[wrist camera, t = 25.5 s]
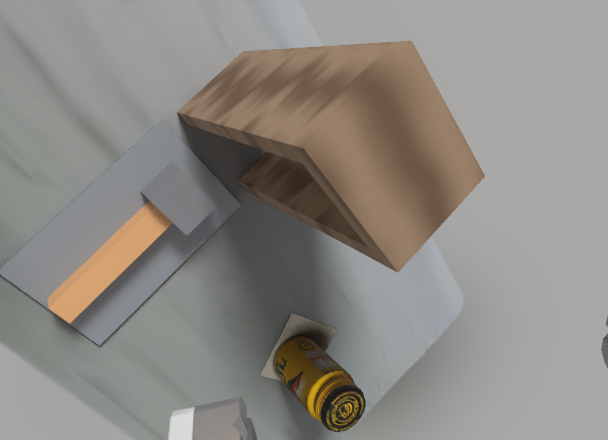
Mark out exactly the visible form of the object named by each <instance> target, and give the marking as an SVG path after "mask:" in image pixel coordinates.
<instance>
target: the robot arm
mask: <svg viewBox="0 0 608 440" xmlns="http://www.w3.org/2000/svg"><path fill="white" fill-rule="evenodd" d="M606 325H607V326H608V317H607V322H606ZM602 354H603V358H604V362H605V364H606V365H607V367H608V334H607V335H606V336H605V337H604V339H603V343H602ZM168 440H257V436H256V432H255V428H254V425H253V422H252V420H251V419H250V418H248V417H247V409H246V404H245V402H244V400H243V398H242V397H239V398H234V399H229V400H224V401H219V402H214V403H209V404H204V405H199V406H194V407H190V408H185V409H181V410H176V411H173V412H172V415H171V417H170V422H169V432H168Z"/></svg>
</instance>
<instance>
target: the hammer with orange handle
mask: <svg viewBox="0 0 608 440" xmlns="http://www.w3.org/2000/svg"><path fill="white" fill-rule="evenodd" d="M141 192H142V193H143V194H144V195H145V196H146V197H147V198H148V199H149V200H150V201H148V202H147V203H146V204H145V205H144V206H143V207H142V208H141V209H140V210H139V211H138V212H137V213H136V214H135V215H134V216H133V217H132V218H131V219H130V220H129V221H128V222H127V223H126V224H124V225H123V226H122V227H121V228H120V229H119V230H118V231H117V232H116V233H115V234H114V235H113V236H112V237H111V238H110V239H109V240H108V241H107V242H106V243H105V244H104V245H103V246H102V247H100V248H99V249H98V250H97V251H96V252H95V253H94V254H93V255H92V256H91V257H90V258H89V259H88V260H87V261H86V262H85V263H84V264H83V265H82V266H81V267H80V268H79V269H78V270H76V271H75V272H74V273H73V274H72V275H71V276H70V277H69V278H68V279H67V280H66V281H65V282H64V283H63V284H62V285H61V286H60V287H59V288H58V289H57V290H56V291H55V292H53V293H52V294H51V295H50V296H49V297H48V298H47V300H48V307H49V309H50V310H51V311H53V312H54V313H56V314H57V315H58V316H60V317H61V318H63V319H64V320H65V321H67V322H68V323H71V322H72V321H73V320H74V319H75V318H76V317H77V316H78V315H79V314H80V313H81V312H82V311H83V310H84V309H85V308H86V307H87V306H88V305H89V304H90V303H91V302H92V301H93V300H95V299H96V298H97V297H98V296H99V295H100V294H101V293H102V292H103V291H104V290H105V289H106V288H107V287H108V286H109V285H110V284H111V283H112V282H113V281H114V280H115V279H116V278H117V277H118V276H119V275H120V274H121V273H122V272H123V271H124V270H125V269H126V268H127V267H128V266H129V265H130V264H131V263H132V262H133V261H134V260H135V259H136V258H137V257H138V256H140V255H141V254H142V253H143V252H144V251H145V250H146V249H147V248H148V247H149V246H150V245H151V244H152V243H153V242H154V241H155V240H156V239H157V238H158V237H159V236H160V235H161V234H162V233H163V232H164V231H165V230H166V229H167V228H168V227H169V226H170V225H171V224H172V223H174V224H175V225H176V226H177V227H178V228H179V229H180V230H181V231H182V232H183V233H184V234H185V235H186V236H187V235H188V234H189V233H190V232H191V231H192V230H193V229H194V228H195V227H196V226H197V225H199V224H200V223H201V222H202V221H203V220H204V219H205V218H206V217H207V216H208V215H209V214H210V213H211V212H212V211H213V210H214V209H215V208H216V207H217V206H216V205H215V204H214V202H213V201H212V200H211V199H210V198H209V197H208V196H207V195H206V194H205V193H204V192H203V191H202V190H201V189H200V188H199V187H198V186H197V185H196V184H195V183H194V182H193V180H192V179H191V178H190V177H189V176H188V175H187V174H186V173H185V172H184V171H183V170H182V169H181V168H179V167H177V166H176V165H174V164H173V163H171V162H170V163H169V164H168V165H167V166H166V167H165V168H164V169H163V170H162V171H161V172H160V173H159V174H158V175H157V176H156V177H155V178H153V179H152V180H151V181H150V182H149V183H148V184H147V185H146V186H145V187H144V188H143V189H142V190H141Z"/></svg>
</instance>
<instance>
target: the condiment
mask: <svg viewBox="0 0 608 440" xmlns="http://www.w3.org/2000/svg"><path fill="white" fill-rule="evenodd" d="M336 330H337V329H335V328H332V327H329V326H327V325H324V324H321V323H319V322H316V321H313V320H310V319H307V318H304V317H302V316H299V315H296V314H293V313H291V315H290V317H289V320H288V321H287V323H286V325H285V328H284V330H283V331H282V333H281V336H280V337H279V339H278V341H277V343H276V345H275V346H274V348H273V351H272V353H271V355H270V356H269V359H268V360H267V362H266V365H265V367H264V369H263V371H262V373H261V376H262V377H266V378H270V379H274V380H278V381H282V382H283V383H284V384H285V385H286V387H287V388H288V389H289V390H290V391H291V392H292V393H293V394H294V395H295V397H296V398H297V399H298V400H299V401H300V403H301V404H302V405H303V406H304V408H305V409H306V410H307V411H308V412H309V413H310V415H311V416H312V417H314V418H316V419H318V420H320V421H321V422H322V423H323V424H324V426H325V427H327V429H329V430H331V431H335V432H340V431H345V430H347V429H349V428H350V427H352V426H353V425H355V424H356V423H357V421H358V420H359V419H360V418H361V416H362V414H363V412H364V409H365V398H364V395H363V392H362V391H361V389H359V388H358V387H357V386H356V384H355V383H354V381H353V379H352V377H351V376H350V375H349V373H347V372H346V371H345V370H344V369H343V368H342V367H341V366H340V365H339V364H338V363H337V362H335V361H334V360H333V359H332V358H331V357H330V356H329V355H328V354H327V353H326V352H325V351H326V349H327V347H328V345H329V343H330V341H331V339H332V338H333V336H334V334H335V332H336ZM297 331H299V332H298V333H296V332H297ZM295 333H296V334H295ZM294 334H295V335H294Z"/></svg>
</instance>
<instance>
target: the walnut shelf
mask: <svg viewBox="0 0 608 440" xmlns="http://www.w3.org/2000/svg"><path fill="white" fill-rule="evenodd" d="M177 113H178V114H179V115H180V116H181V117H182V118H183V120H184V121H185V122H186V123H187V124H188V125H190V126H193V127H196V128H199V129H202V130H205V131H208V132H210V133H213V134H216V135H219V136H222V137H225V138H228V139H231V140H234V141H237V142H240V143H243V144H246V145H249V146H252V147H255V148H258V149H261V150H264V151H267V152H266V153H265V154H264V155H263V156H262V157H261V158H260V159H259V160H258V161H257V162H256V163H255V164H254V165H253V166H252V167H251V168H250V169H249V170H248V171H247V172H246V173H245V174H244V175H243V176H242V177H241V178H240V179H239V180H238V182H239V183H240V184H241V185H242V186H243V187H244V188H245V190H246V191H248V192H249V193H251V194H253V195H255V196H257V197H259V198H261V199H262V200H264V201H266V202H268V203H270V204H272V205H274V206H275V207H277V208H279V209H281V210H283V211H285V212H287V213H288V214H290V215H292V216H294V217H296V218H298V219H300V220H301V221H303V222H305V223H307V224H309V225H311V226H313V227H314V228H316V229H318V230H320V231H322V232H324V233H326V234H327V235H329V236H331V237H333V238H335V239H337V240H339V241H340V242H342V243H344V244H346V245H348V246H350V247H352V248H353V249H355V250H357V251H359V252H361V253H363V254H365V255H366V256H368V257H370V258H372V259H374V260H376V261H378V262H379V263H381V264H383V265H385V266H387V267H389V268H391V269H392V270H394V271H396V272H399V271H400V270H401V269H402V268H403V267H404V265H405V264H406V263H407V262H408V261H409V260H410V259H411V258H412V257H413V255H414V254H415V253H416V252H417V251H418V250H419V249H420V248H421V247H422V246H423V244H424V243H425V242H426V241H427V240H428V239H429V238H430V237H431V236H432V234H433V233H434V232H435V231H436V230H437V229H438V228H439V227H440V225H441V224H442V223H443V222H444V221H445V220H446V219H447V218H448V217H449V216H450V215H451V213H452V212H453V211H454V210H455V209H456V208H457V207H458V206H459V204H460V203H461V202H462V201H463V200H464V199H465V198H466V197H467V196H468V195H469V194H470V192H471V191H472V190H473V189H474V188H475V187H476V186H477V185H478V184H479V183H480V181H481V180H482V179H483V178H484V177H485V175H484V173H483V171H482V170H481V168H480V166H479V164H478V162H477V160H476V159H475V157H474V155H473V153H472V151H471V149H470V148H469V146H468V144H467V142H466V140H465V138H464V137H463V135H462V133H461V131H460V129H459V127H458V126H457V124H456V122H455V120H454V118H453V116H452V114H451V112H450V111H449V109H448V107H447V105H446V103H445V101H444V100H443V98H442V96H441V94H440V92H439V90H438V89H437V87H436V85H435V83H434V81H433V79H432V78H431V76H430V74H429V72H428V70H427V68H426V66H425V65H424V63H423V61H422V59H421V57H420V55H419V54H418V52H417V50H416V48H415V46H414V45H413V43H412V41H402V42H385V43H371V44H370V43H369V44H354V45H340V46H323V47H307V48H291V49H276V50H260V51H244V52H242V53H241V54H240V55H239V56H238V57H237V58H236V59H235V60H233V61H232V62H231V63H230V64H229V65H228V66H227V67H226V68H225V69H224V70H223V71H222V72H220V73H219V74H218V75H217V76H216V77H215V78H214V79H213V80H212V81H211V82H210V83H209V84H207V85H206V86H205V87H204V88H203V89H202V90H201V91H200V92H199V93H198V94H197V95H196V96H194V97H193V98H192V99H191V100H190V101H189V102H188V103H187V104H186V105H185V106H184V107H183V108H181V109H180V110H179V111H178V112H177Z"/></svg>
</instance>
